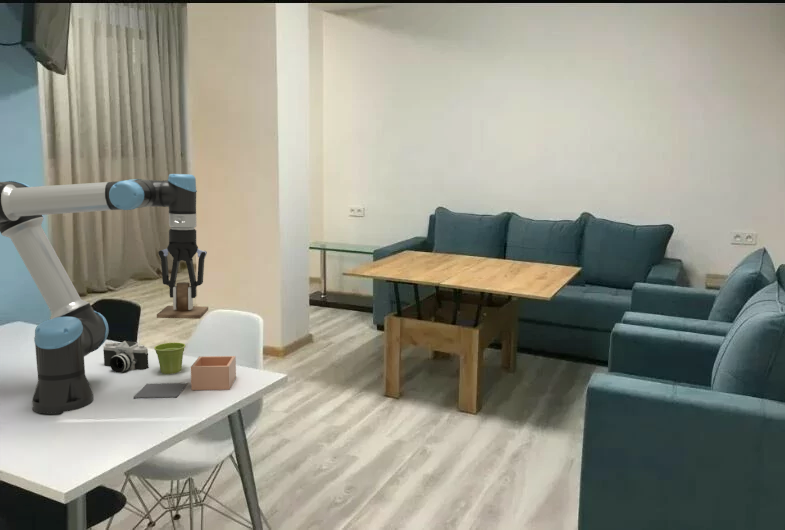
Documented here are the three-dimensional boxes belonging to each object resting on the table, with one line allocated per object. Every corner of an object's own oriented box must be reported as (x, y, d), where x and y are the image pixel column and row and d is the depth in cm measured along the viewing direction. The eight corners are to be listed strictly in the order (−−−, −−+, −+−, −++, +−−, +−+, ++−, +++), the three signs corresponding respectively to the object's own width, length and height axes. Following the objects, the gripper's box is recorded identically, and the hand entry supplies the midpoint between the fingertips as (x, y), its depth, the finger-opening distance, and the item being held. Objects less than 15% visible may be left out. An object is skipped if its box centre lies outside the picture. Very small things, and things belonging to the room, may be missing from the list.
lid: (156, 317, 190) (156, 286, 189) (167, 309, 202) (167, 279, 201) (200, 318, 191) (200, 287, 190) (208, 309, 203) (208, 280, 202)
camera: (92, 372, 214) (90, 341, 213) (110, 365, 223) (108, 335, 221) (135, 376, 210) (133, 345, 209) (152, 369, 218) (150, 338, 217)
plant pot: (177, 378, 209) (176, 350, 207) (149, 376, 210) (148, 349, 209) (192, 369, 218) (191, 343, 216) (165, 367, 219) (164, 341, 218)
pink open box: (191, 390, 197) (190, 366, 196) (200, 378, 208) (199, 356, 207) (229, 389, 198) (228, 366, 197) (236, 378, 209) (235, 356, 208)
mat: (133, 398, 190) (133, 396, 190) (146, 384, 202) (146, 383, 202) (177, 397, 191) (176, 396, 191) (187, 384, 203) (187, 383, 202)
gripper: (149, 228, 189) (150, 310, 192) (209, 230, 190) (209, 312, 193) (156, 226, 196) (157, 305, 199) (214, 228, 198) (214, 306, 201)
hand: (183, 308), depth 196 cm, fingers closed on lid, 3 cm apart
